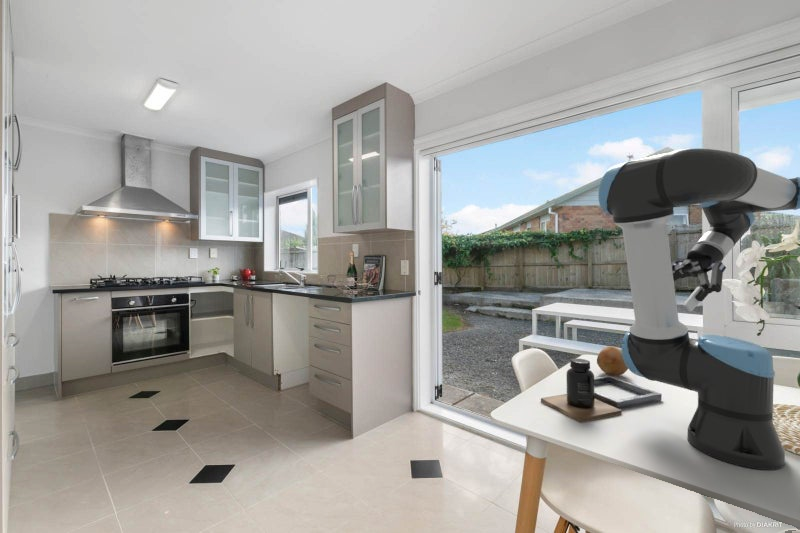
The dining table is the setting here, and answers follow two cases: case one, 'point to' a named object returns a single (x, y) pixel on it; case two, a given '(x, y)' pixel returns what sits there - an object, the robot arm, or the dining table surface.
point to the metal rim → (646, 394)
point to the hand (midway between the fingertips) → (663, 305)
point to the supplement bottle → (580, 384)
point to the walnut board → (581, 409)
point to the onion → (611, 361)
